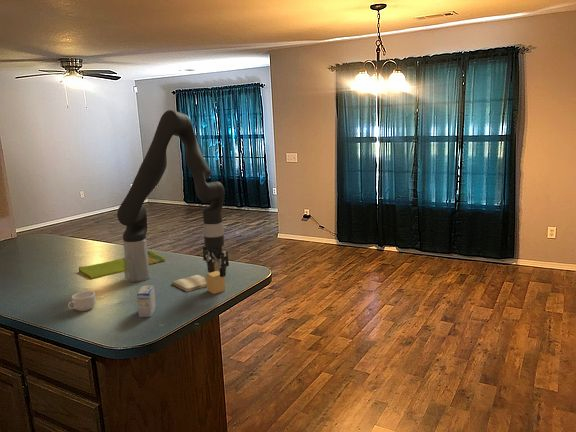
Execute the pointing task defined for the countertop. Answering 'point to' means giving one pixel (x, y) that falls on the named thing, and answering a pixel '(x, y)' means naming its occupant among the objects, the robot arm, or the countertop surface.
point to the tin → (216, 266)
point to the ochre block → (215, 282)
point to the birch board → (191, 283)
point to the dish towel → (114, 266)
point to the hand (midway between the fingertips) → (216, 274)
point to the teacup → (83, 300)
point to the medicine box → (146, 301)
